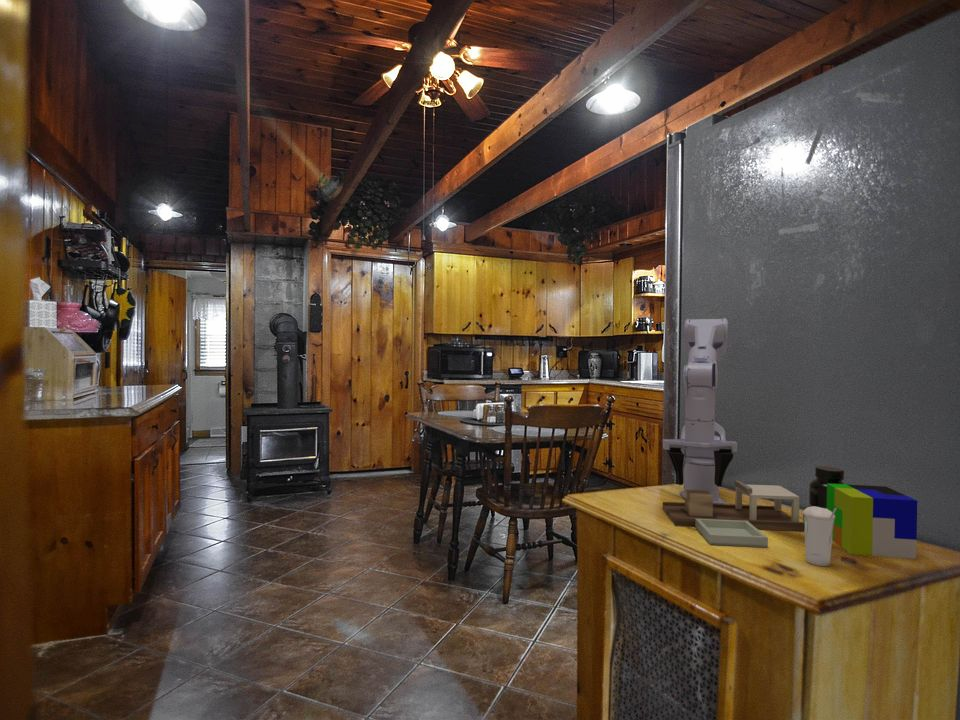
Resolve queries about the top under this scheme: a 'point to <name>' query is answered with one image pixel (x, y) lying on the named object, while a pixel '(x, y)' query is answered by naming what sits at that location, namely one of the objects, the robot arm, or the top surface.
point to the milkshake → (818, 534)
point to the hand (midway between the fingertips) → (698, 484)
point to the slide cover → (765, 492)
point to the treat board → (735, 516)
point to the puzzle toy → (873, 520)
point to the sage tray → (731, 533)
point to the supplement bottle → (823, 484)
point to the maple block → (698, 502)
